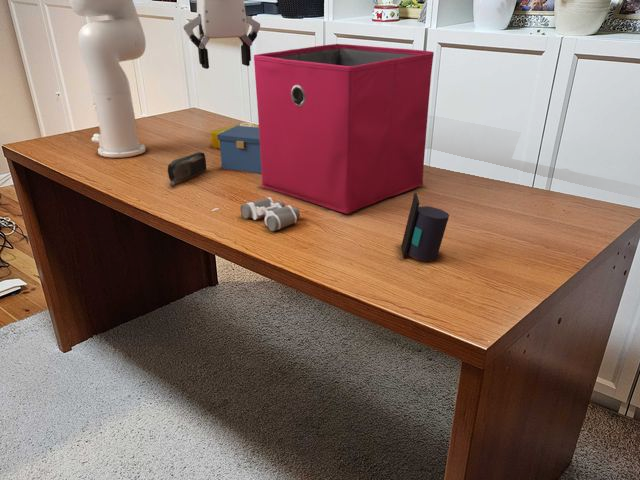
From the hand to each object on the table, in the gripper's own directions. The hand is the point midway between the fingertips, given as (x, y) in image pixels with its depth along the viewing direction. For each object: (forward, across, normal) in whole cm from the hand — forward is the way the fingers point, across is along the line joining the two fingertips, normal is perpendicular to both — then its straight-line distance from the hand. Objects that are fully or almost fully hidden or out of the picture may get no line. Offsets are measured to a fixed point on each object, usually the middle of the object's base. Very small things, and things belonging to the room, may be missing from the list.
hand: (225, 66), depth 134 cm
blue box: (+24, -6, -4) cm, 25 cm away
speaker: (+24, -12, +62) cm, 67 cm away
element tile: (+24, -12, -23) cm, 36 cm away
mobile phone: (+24, +12, -2) cm, 27 cm away
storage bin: (+24, -18, +21) cm, 37 cm away
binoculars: (+24, +4, +34) cm, 42 cm away
